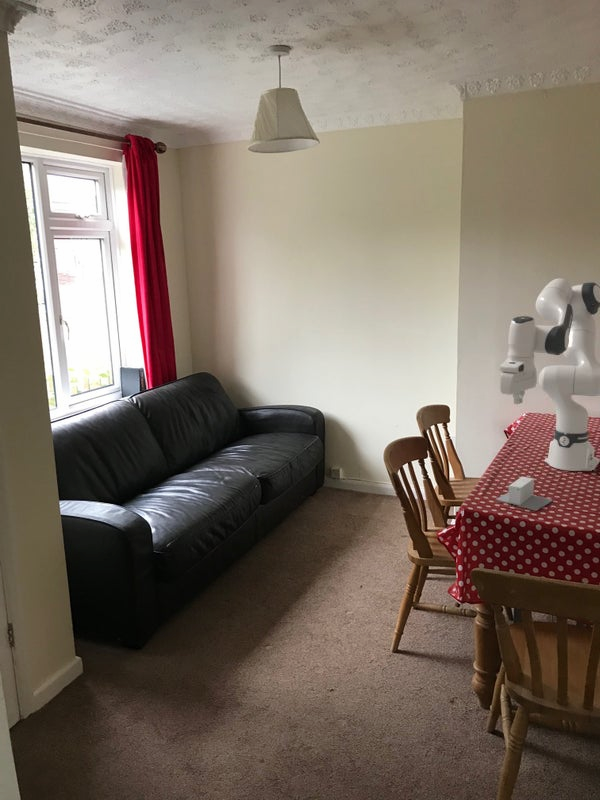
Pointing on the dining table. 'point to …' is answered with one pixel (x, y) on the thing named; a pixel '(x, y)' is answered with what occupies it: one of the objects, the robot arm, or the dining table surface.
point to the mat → (528, 502)
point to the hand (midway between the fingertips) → (518, 403)
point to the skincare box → (520, 490)
